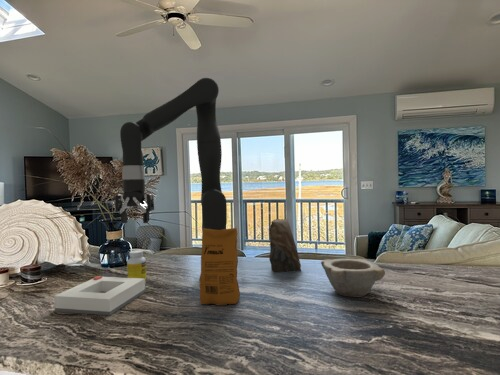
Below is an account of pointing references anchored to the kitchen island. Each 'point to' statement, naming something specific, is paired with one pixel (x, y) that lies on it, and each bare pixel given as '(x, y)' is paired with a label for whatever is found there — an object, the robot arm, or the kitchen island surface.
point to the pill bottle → (136, 265)
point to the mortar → (352, 275)
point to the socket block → (99, 295)
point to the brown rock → (283, 248)
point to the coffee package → (219, 267)
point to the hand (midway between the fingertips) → (135, 223)
